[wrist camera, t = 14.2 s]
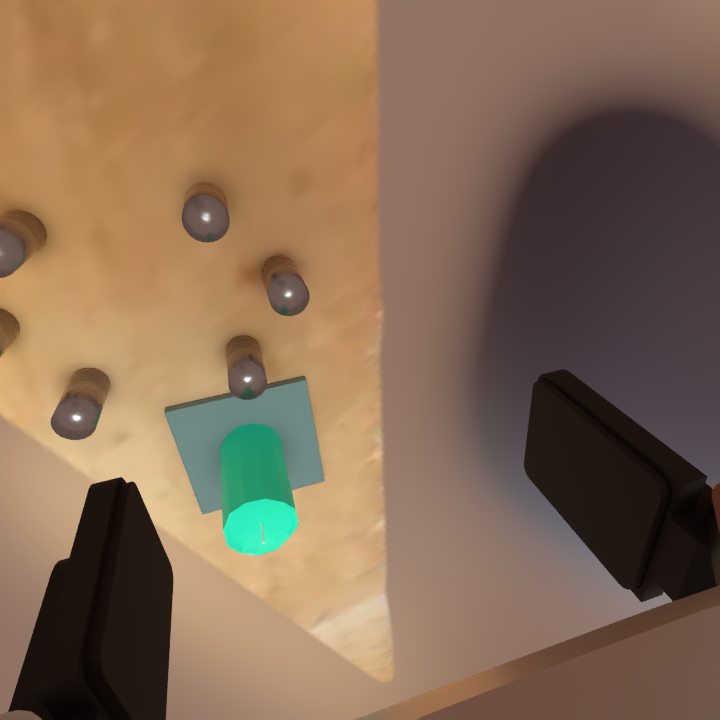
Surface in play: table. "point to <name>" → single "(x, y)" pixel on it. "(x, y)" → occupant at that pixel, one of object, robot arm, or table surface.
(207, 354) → the table surface
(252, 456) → the candle
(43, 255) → the table surface
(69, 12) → the table surface
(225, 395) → the mat
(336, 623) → the table surface
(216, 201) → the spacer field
